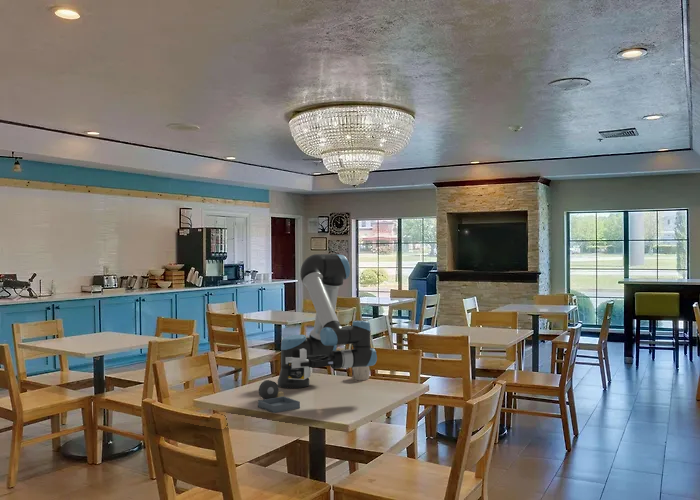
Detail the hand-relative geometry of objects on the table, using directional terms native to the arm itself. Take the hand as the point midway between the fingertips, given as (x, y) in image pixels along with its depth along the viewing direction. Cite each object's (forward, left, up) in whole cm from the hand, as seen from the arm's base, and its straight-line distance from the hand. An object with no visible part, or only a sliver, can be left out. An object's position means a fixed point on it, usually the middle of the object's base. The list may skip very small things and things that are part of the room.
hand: (288, 362), depth 248 cm
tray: (0, -4, -18) cm, 18 cm away
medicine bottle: (+1, +4, -7) cm, 8 cm away
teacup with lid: (-25, +58, -18) cm, 65 cm away
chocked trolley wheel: (-15, +1, -18) cm, 23 cm away
